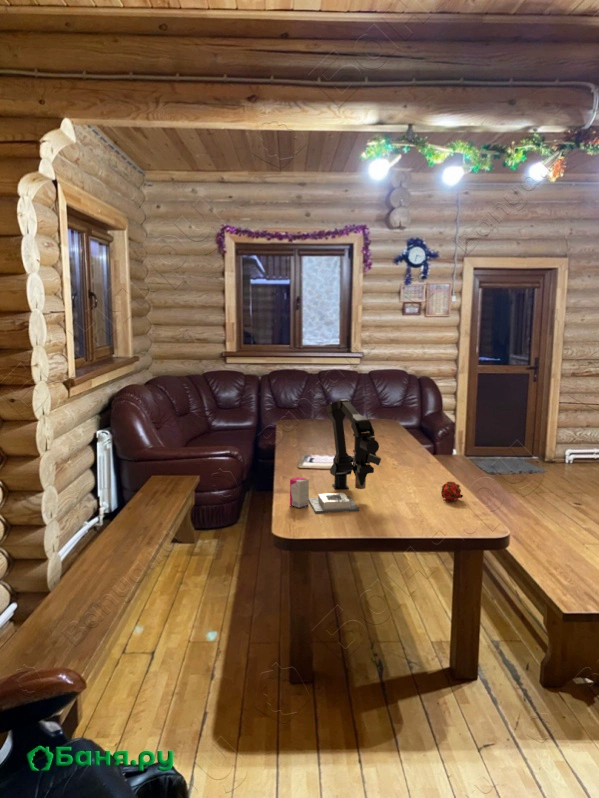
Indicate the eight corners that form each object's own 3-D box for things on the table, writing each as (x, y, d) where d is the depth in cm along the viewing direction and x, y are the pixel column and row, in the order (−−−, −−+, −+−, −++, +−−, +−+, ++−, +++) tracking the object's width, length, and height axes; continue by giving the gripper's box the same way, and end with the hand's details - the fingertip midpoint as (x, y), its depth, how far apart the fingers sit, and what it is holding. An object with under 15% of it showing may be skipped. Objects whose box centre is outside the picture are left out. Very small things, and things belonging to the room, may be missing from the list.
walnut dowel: (354, 486, 241) (354, 470, 240) (363, 485, 241) (364, 469, 240) (356, 489, 236) (357, 473, 235) (366, 488, 237) (367, 472, 236)
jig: (308, 500, 239) (308, 491, 238) (349, 498, 242) (349, 489, 241) (315, 513, 223) (315, 503, 223) (359, 510, 226) (359, 501, 226)
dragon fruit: (449, 498, 247) (454, 511, 235) (434, 487, 246) (438, 500, 235) (462, 484, 244) (467, 497, 233) (447, 473, 244) (452, 485, 232)
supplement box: (309, 505, 232) (309, 479, 231) (298, 509, 228) (299, 482, 227) (299, 502, 237) (299, 476, 235) (289, 505, 232) (289, 479, 231)
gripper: (386, 452, 228) (385, 489, 231) (373, 442, 247) (372, 476, 249) (360, 453, 227) (359, 491, 229) (348, 443, 245) (348, 478, 247)
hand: (360, 483), depth 239 cm, fingers closed on walnut dowel, 4 cm apart
